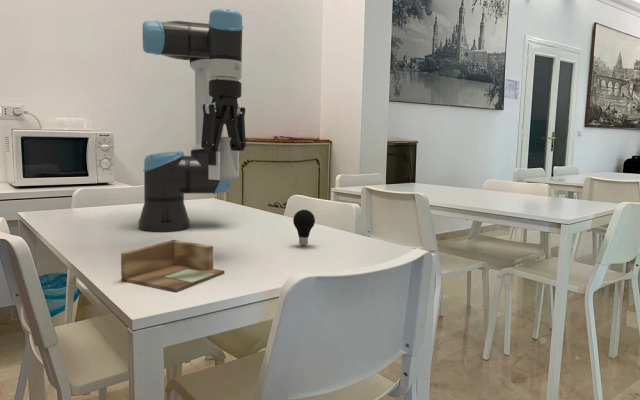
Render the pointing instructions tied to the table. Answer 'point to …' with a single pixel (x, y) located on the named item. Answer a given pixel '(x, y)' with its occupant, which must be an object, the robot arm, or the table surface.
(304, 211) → the light bulb
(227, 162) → the flask
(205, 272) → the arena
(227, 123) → the robot arm
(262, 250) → the table surface
